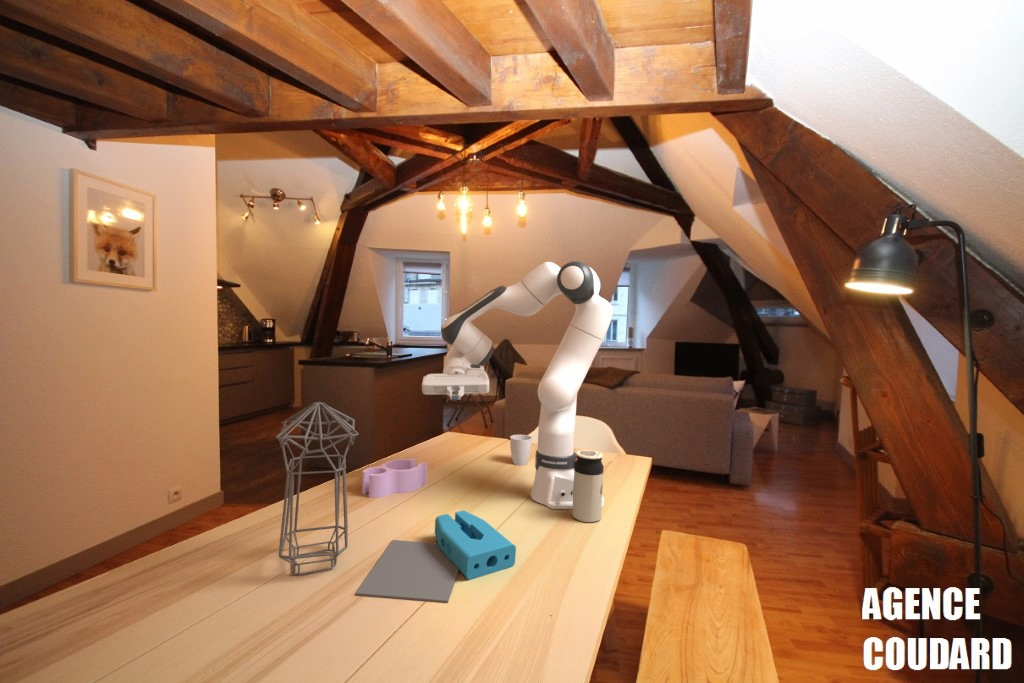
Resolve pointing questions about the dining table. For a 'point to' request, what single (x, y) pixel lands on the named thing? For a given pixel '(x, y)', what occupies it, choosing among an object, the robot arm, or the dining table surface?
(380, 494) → the clip
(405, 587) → the mat
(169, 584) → the dining table surface
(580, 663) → the dining table surface
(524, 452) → the cup
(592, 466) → the travel mug
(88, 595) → the dining table surface
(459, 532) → the block
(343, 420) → the geometric lantern
